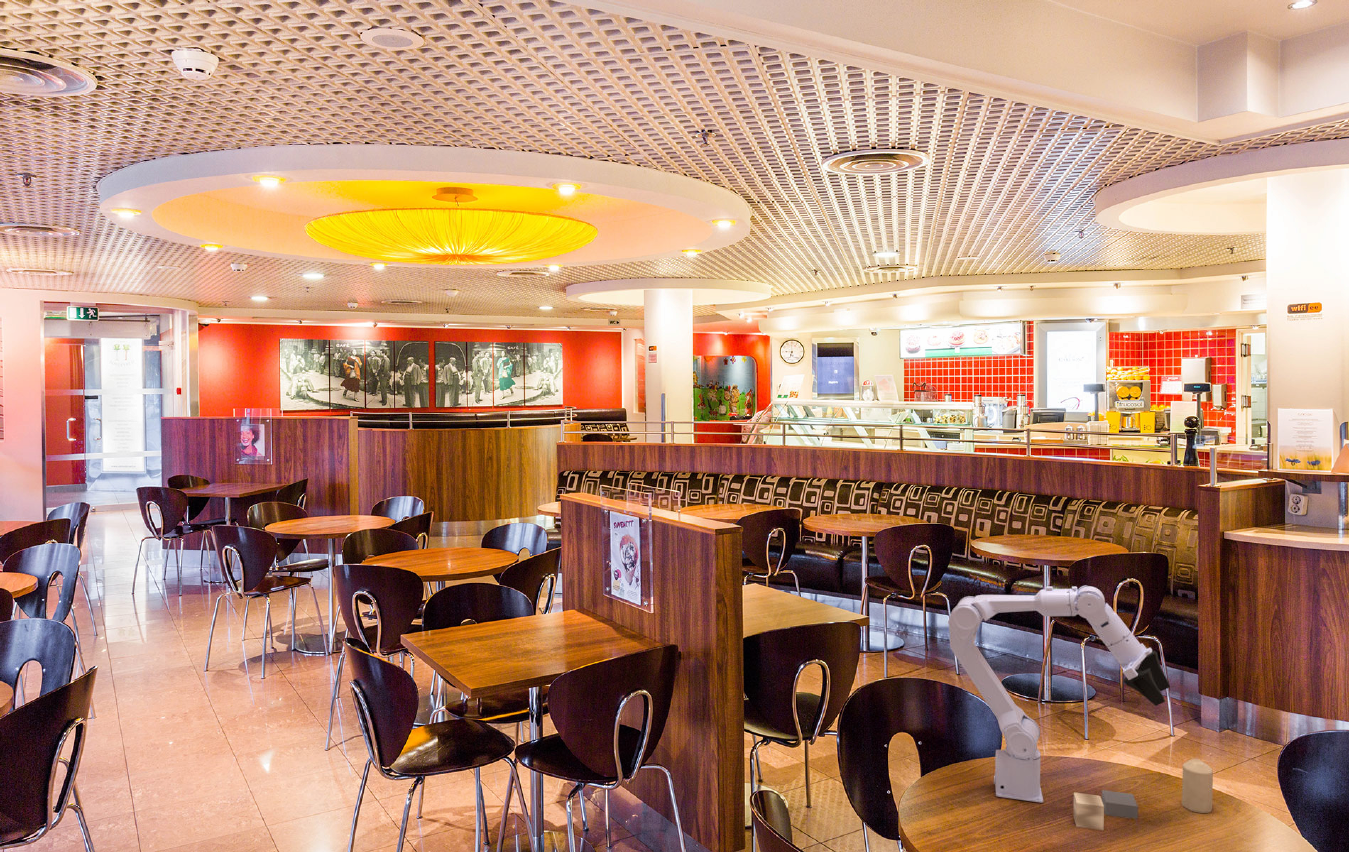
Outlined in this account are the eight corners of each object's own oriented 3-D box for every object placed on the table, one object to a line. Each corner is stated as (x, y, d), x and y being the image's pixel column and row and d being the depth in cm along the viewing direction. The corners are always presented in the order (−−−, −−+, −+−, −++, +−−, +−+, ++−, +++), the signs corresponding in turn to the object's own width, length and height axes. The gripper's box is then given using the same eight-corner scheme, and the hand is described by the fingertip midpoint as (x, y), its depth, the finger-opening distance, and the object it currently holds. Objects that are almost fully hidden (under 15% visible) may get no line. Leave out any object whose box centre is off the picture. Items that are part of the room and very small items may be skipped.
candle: (1216, 814, 182) (1217, 767, 182) (1187, 812, 183) (1188, 765, 183) (1205, 802, 187) (1207, 757, 187) (1177, 800, 188) (1179, 754, 188)
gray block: (1105, 816, 182) (1105, 802, 182) (1101, 803, 187) (1101, 789, 187) (1137, 820, 180) (1138, 806, 180) (1132, 807, 185) (1132, 794, 185)
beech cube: (1076, 827, 177) (1076, 802, 176) (1073, 815, 181) (1073, 792, 181) (1103, 830, 175) (1104, 806, 175) (1099, 819, 180) (1100, 795, 180)
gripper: (1129, 642, 174) (1176, 701, 171) (1141, 618, 186) (1185, 674, 182) (1098, 657, 178) (1144, 716, 174) (1112, 633, 189) (1154, 688, 186)
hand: (1163, 695), depth 179 cm, fingers open, 7 cm apart
